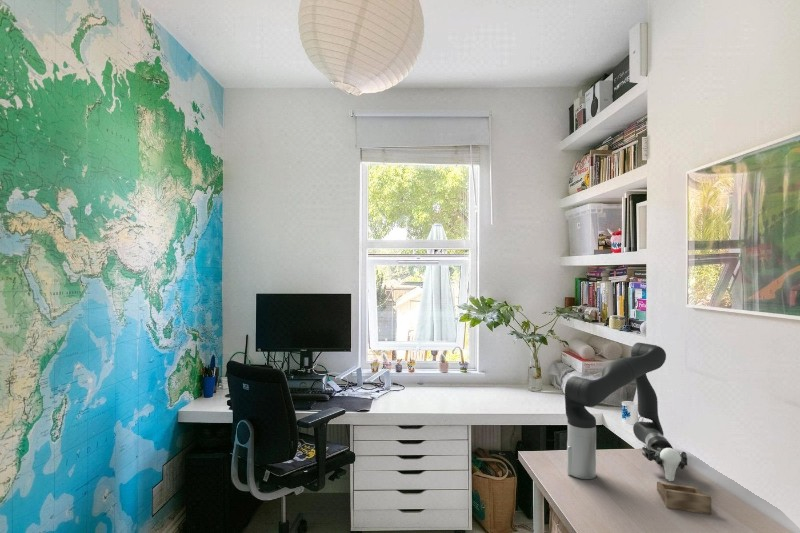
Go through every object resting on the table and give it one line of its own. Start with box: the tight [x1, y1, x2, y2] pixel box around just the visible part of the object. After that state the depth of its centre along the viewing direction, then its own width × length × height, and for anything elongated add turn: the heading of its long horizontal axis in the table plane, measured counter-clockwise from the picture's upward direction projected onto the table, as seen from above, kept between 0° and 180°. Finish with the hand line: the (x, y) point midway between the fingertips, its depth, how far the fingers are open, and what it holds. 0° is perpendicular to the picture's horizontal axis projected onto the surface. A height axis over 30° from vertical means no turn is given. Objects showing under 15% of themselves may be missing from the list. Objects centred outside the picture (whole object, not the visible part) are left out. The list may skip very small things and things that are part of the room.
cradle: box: [656, 481, 712, 515], centre depth 133 cm, size 11×11×5 cm
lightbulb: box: [660, 448, 681, 482], centre depth 147 cm, size 6×6×11 cm
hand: (671, 464), depth 144 cm, fingers closed on lightbulb, 5 cm apart
